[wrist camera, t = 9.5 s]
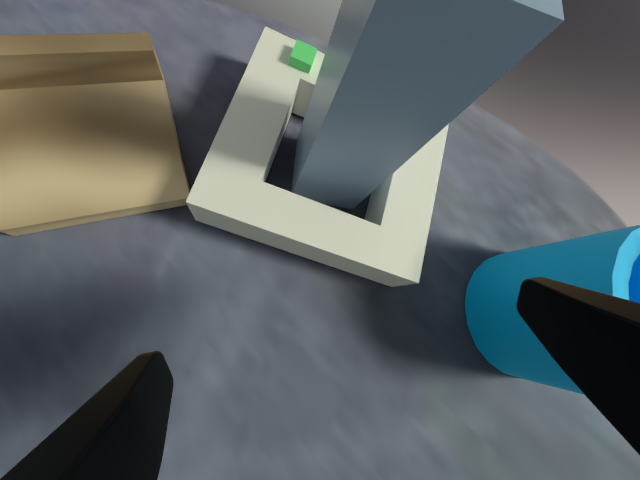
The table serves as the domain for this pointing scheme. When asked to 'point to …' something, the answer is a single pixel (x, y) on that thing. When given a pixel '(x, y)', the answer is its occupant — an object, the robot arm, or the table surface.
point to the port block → (297, 211)
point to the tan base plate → (84, 131)
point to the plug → (404, 84)
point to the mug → (553, 263)
